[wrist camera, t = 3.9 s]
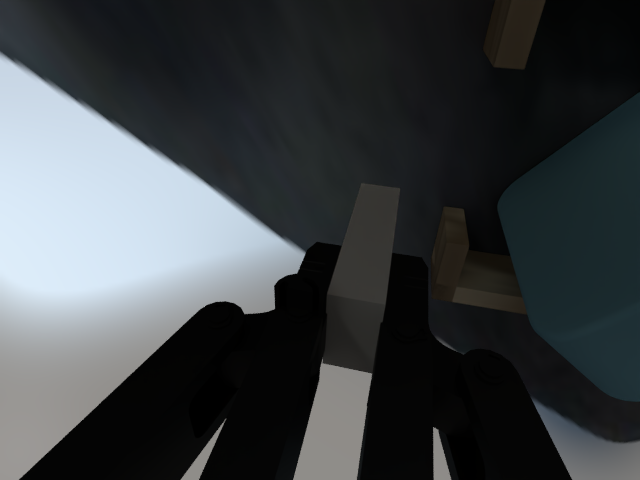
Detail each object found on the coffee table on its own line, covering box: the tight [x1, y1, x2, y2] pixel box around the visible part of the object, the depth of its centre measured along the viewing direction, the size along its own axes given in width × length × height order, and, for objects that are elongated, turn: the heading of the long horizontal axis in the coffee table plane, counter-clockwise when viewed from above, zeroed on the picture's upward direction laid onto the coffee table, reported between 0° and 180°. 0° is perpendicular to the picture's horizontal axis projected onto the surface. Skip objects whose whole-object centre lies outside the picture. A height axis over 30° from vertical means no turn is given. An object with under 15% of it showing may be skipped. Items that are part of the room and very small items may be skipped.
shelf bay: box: [431, 0, 546, 314], centre depth 20 cm, size 11×17×4 cm, turn 178°
